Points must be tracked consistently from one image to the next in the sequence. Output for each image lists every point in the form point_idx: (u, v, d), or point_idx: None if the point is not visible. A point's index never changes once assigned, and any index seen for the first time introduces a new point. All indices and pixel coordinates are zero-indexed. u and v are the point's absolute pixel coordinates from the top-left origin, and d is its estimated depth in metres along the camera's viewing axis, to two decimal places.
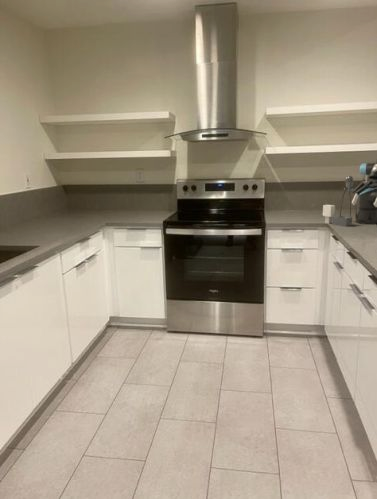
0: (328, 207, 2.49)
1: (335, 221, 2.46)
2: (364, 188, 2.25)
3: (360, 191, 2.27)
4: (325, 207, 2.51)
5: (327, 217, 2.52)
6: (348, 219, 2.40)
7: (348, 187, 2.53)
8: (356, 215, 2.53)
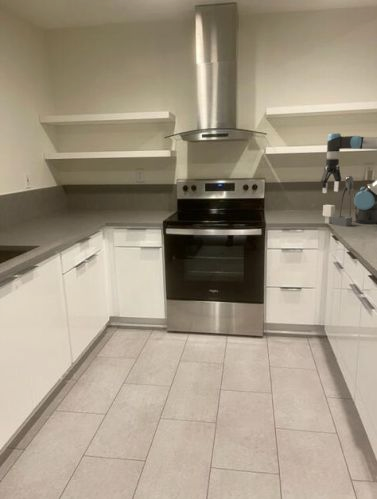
0: (328, 207, 2.49)
1: (335, 221, 2.46)
2: (334, 175, 2.47)
3: (335, 178, 2.49)
4: (325, 207, 2.51)
5: (327, 217, 2.52)
6: (348, 219, 2.40)
7: (348, 187, 2.53)
8: (356, 215, 2.53)
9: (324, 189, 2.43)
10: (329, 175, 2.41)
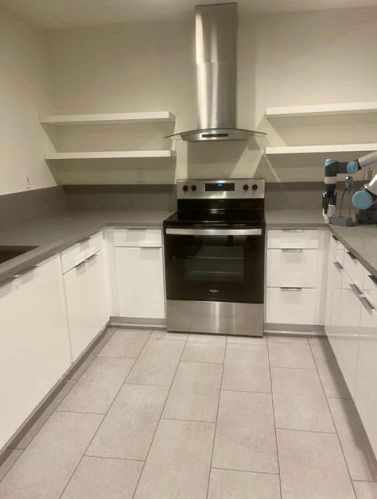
0: (328, 207, 2.49)
1: (335, 221, 2.46)
2: (330, 200, 2.51)
3: (331, 203, 2.52)
4: None
5: None
6: (348, 219, 2.40)
7: (348, 187, 2.53)
8: (356, 215, 2.53)
9: (325, 215, 2.51)
10: (328, 200, 2.48)
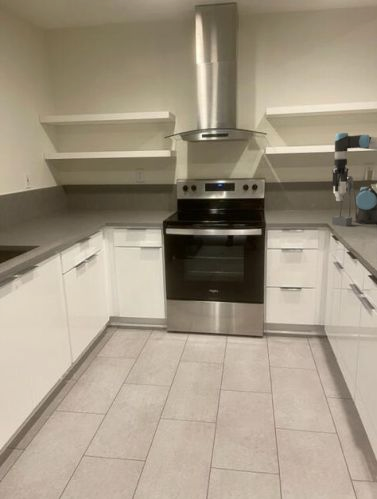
0: (339, 184, 2.40)
1: (335, 221, 2.46)
2: (341, 176, 2.42)
3: (342, 180, 2.43)
4: None
5: None
6: (348, 219, 2.40)
7: (348, 187, 2.53)
8: (356, 215, 2.53)
9: (336, 192, 2.42)
10: (339, 177, 2.39)
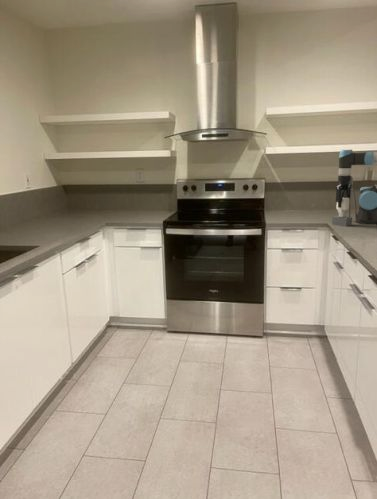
0: (342, 200, 2.40)
1: (335, 221, 2.46)
2: (344, 192, 2.42)
3: (345, 196, 2.43)
4: None
5: None
6: (348, 219, 2.40)
7: None
8: (356, 215, 2.53)
9: (339, 208, 2.42)
10: (343, 193, 2.39)
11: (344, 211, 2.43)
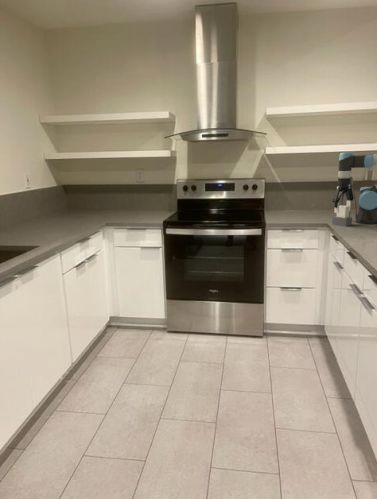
0: (342, 208, 2.41)
1: (335, 221, 2.46)
2: (346, 194, 2.43)
3: (348, 197, 2.45)
4: (339, 208, 2.43)
5: None
6: (348, 219, 2.40)
7: None
8: (356, 215, 2.53)
9: (336, 209, 2.39)
10: (341, 194, 2.38)
11: None
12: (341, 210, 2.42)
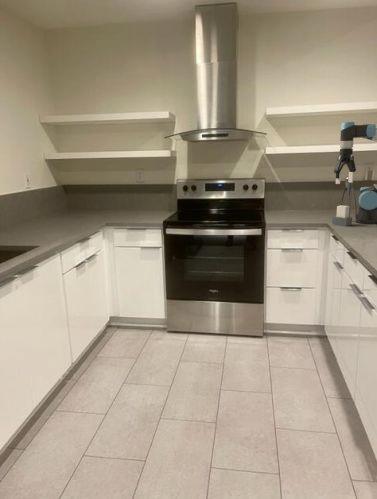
0: (342, 208, 2.41)
1: (335, 221, 2.46)
2: (348, 165, 2.39)
3: (350, 168, 2.41)
4: (339, 208, 2.43)
5: None
6: (348, 219, 2.40)
7: (348, 187, 2.53)
8: (356, 215, 2.53)
9: (337, 180, 2.35)
10: (342, 165, 2.33)
11: None
12: (341, 210, 2.42)
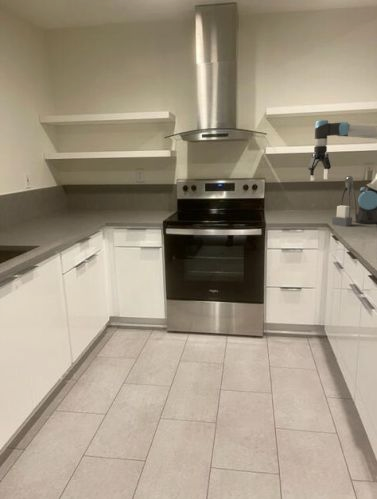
0: (342, 208, 2.41)
1: (335, 221, 2.46)
2: (323, 162, 2.46)
3: (325, 165, 2.47)
4: (339, 208, 2.43)
5: None
6: (348, 219, 2.40)
7: (348, 187, 2.53)
8: (356, 215, 2.53)
9: (312, 176, 2.41)
10: (317, 162, 2.40)
11: None
12: (341, 210, 2.42)
